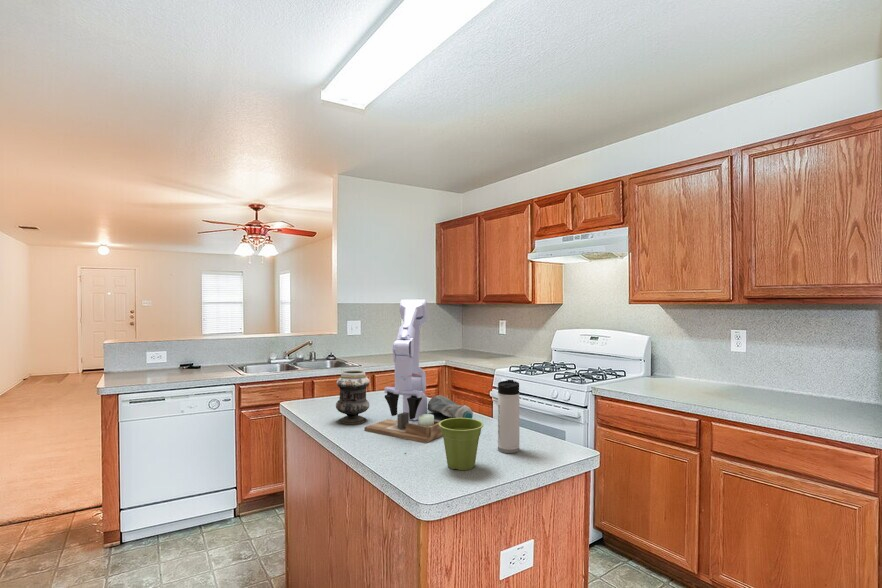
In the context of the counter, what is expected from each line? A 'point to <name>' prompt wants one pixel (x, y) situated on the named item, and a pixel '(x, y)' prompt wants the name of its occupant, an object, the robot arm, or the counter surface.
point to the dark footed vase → (352, 396)
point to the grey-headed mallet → (422, 420)
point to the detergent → (449, 408)
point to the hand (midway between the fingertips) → (403, 417)
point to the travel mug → (508, 416)
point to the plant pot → (461, 441)
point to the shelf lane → (406, 430)
